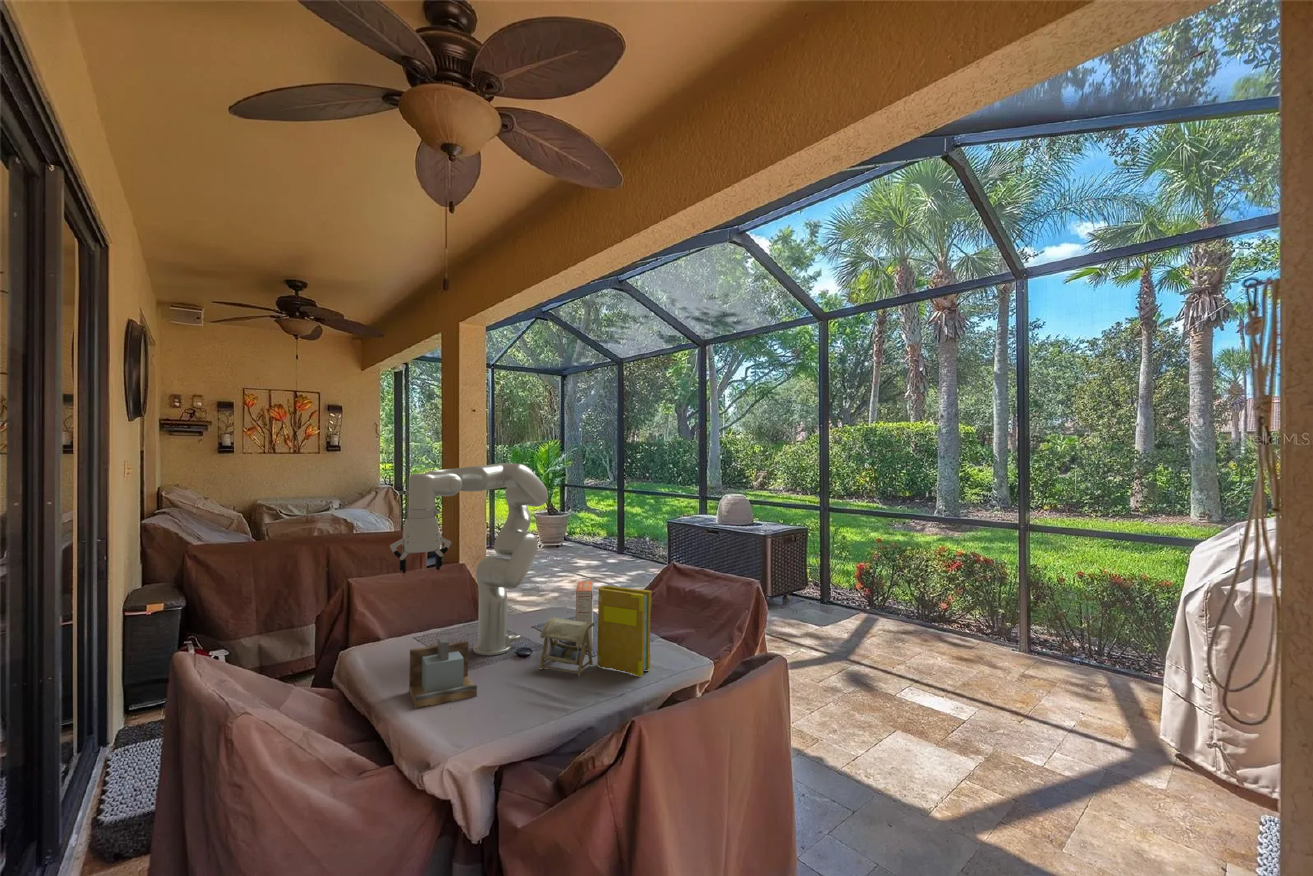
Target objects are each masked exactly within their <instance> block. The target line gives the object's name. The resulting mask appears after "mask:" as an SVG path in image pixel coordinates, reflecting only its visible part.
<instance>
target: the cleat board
mask: <svg viewBox="0 0 1313 876" xmlns="http://www.w3.org/2000/svg"><path fill="white" fill-rule="evenodd" d="M454 651H459V652H460V654H461V655H462V656H463V658H464V679H463V686H462V687H457V688H452V689H447V690H442V691H437V692H431V693H425V691H424V689H423V687H422V657H423V656H429V655H435V654H438V644H437V645H432V646H425V647H419V648H412V649H409V669H408V671H409V675H408V676H409V677H408V678H409V679H408V680H409V681H408V683H409V684H408V685H409V686H408V693H409V692H410V693H409V695H410V697H412V698H411V699H412V702H414V703H413V704H414V707H415V706H416V707H415V709H418V708H417V707H421V708H423V707H422V706H426V707H428V706H427V705H431V706H434V705H435V704H436V705H440V703H441V704H445V703H449V702H448V701H450V702H453V701H452V700H455V701H458V700H459V701H460V700H464V699H469V698H474V697H477V696H478V694H477V693H478V685H477V683H473V681H472V680H471V678H470V677H469V641H468V640H461V641H458V642H457V641H456V642H449V652H454ZM444 702H445V703H444Z"/></svg>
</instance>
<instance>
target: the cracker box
mask: <svg viewBox="0 0 1313 876" xmlns="http://www.w3.org/2000/svg"><path fill="white" fill-rule="evenodd" d="M576 585H577V586H576V589H575V621H580V622H589V623H594V581H592V580H589V581H586V580H579V581H577V584H576ZM588 633H589V640H590V646H591V649H592V650H593V639H594V638H593V637H594V636H593V635H594V626H592V627H590V628H589V629H588ZM578 645H579V643H578V642H575V647H578ZM586 645H587V642H586ZM579 647H582V644H580V645H579Z"/></svg>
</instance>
